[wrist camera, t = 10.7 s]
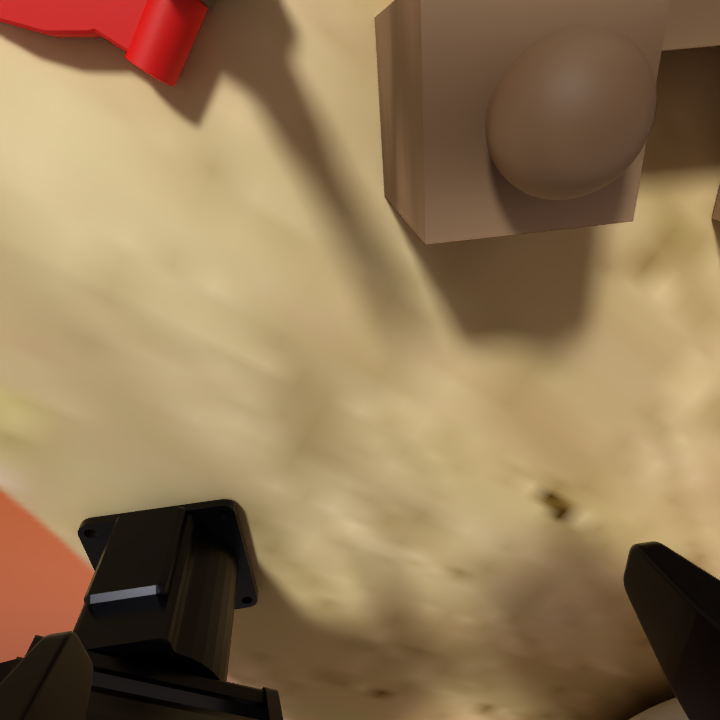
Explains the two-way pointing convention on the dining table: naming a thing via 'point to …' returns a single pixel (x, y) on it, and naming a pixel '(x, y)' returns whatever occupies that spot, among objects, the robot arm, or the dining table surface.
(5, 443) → the dining table surface
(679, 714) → the serving bowl
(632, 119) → the wooden hollow frame
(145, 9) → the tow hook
